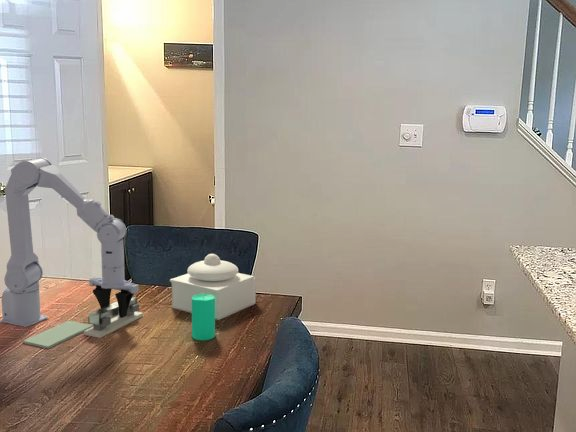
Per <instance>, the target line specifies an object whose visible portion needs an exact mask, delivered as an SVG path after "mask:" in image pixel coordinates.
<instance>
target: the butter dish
mask: <svg viewBox="0 0 576 432" xmlns="http://www.w3.org/2000/svg"><path fill="white" fill-rule="evenodd" d="M169 282H170V283H171V308H172V309H175V310H178V311H183V312H188V313H189V314H192V296H194V295H197V294H203V291H204V294H206V295H213V296H214V297H215V321H216V320H217V321H220V320H222V319H224V318H226V317H227V318H228V317H229V316H231V315H233V314H235V313H238V312H241V311H242V310H244V309H246V308H249V307H252V306H254V305H255V304H256V289H257V288H256V287H257V286H256V285H257V284H256V282H257V280H256V277H255V276H254V275H250V274H246V273H240V272H239V268H238V266H237V265H236V264H234V263H232V262H230V261H227V260H221V257H219V256H218V255H217V254H215V253H208V254H207V255H206V256H205V257H204V259H203V260H199V261H196V262H194V263H192V264H191V265H189V266H188V267H187V273H185V274H182V275H178V276H177V277H174V278H173V277H172V278H170V279H169Z"/></svg>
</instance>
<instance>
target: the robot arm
mask: <svg viewBox="0 0 576 432" xmlns="http://www.w3.org/2000/svg"><path fill="white" fill-rule="evenodd" d="M36 187H38V188H45V189H46V188H47V189H53V191H55V193H57V194H58V195H60V196H61V197H62V198H63V199H65V201H67V202H68V203H69V204H71V205H72V206H73V207H74V208H76V215H77V217H79V218H80V220H82V221H83V222H84V223H85V224H86V225H87V226H88V227H89V228H91V230H93V231H94V232H95V233H96V237H97V240H98V242H100V244H101V245H100V248H101V250H100V252H101V253H100V255H101V277H91V278H89V279H88V282H89V283H88V284H89V287H95V288H94V289H92V294H93V295H94V296H95V298H96V300H97V302H98V305H99V307H100V309H101V308H103V307H105V306H108V305H110V304H111V294H112V290H114V291H115V290H117V291H119V292H116V293H115V297H116V302H117V301H118V306H119V317H120V318H123V317H125V316H126V315H127V311H128V307H129V304H130V301H131V299H132V297H134V295H135V294H136V293H139V284H138V283H137V284H136V283H133V282H130V281H128V280H126V279H125V276H126V275H125V248H124V246H125V245H124V237H125V236H126V234H127V227H126V225H125V223H124V222H123V220H122V219H120V218H117V217H115V216H114V214H109V212H108V211H106V210H105V209H104V207H102V206H101V205H102V203H101V202H100V201H99V200H97V201H96V200H95V199H93V198H92V199H91V198H90V199H89V198H88V199H87V198H86V197H85V196H83V194H82V193H81V192H80V191H79V190H78V189H77V188H76V187H75V186H74V185H73V184H72V183H71V182H70V181H69V180H68V179H67V178H66V177H65V176H64V175H63V174H62V173H61V171H60V170H59V168H58V167H57V166H56V165H54V164H53V163H52V162H51V161H50V160H48V159H47V158H45V157H36V158H34V159H31V160H30V159H29V160H22V161H20V162H18V163H17V164H16V165H14V166H13V167H12V168H11V169H10V176H9V178H8V180H7V183H6V185H5V188H4V191H5V192H4V193H5V201H6V202H5V204H6V211H7V212H6V213H7V224H8V234H9V242H10V243H9V244H10V257H9V259H8V261H7V263H6V273H5V275H4V279H3V280H4V284H5V286H6V288H5V289H4V290H3V292H2V295H1V312H2V313H1V314H2V319H0V322H1V323H5V324H9V325H15V326H20V327H24V328H27V327H29V326H32V325H35V324H37V323H40V322H42V321H44V320H47V319H49V316H47V315H44V314H42V313H41V300H40V299H41V298H40V297H41V296H40V284H39V283H40V282H39V281H41V280H42V277H43V275H44V272H43V268H42V266H41V264H40V261H39V257H38V256H37V254H36V253H35V252H34V247H33V246H34V245H33V236H32V235H33V234H32V223H31V222H32V221H31V212H30V202H29V201H30V200H29V194H30V193H31V192H32V191H33V190H34V189H35V188H36Z"/></svg>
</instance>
